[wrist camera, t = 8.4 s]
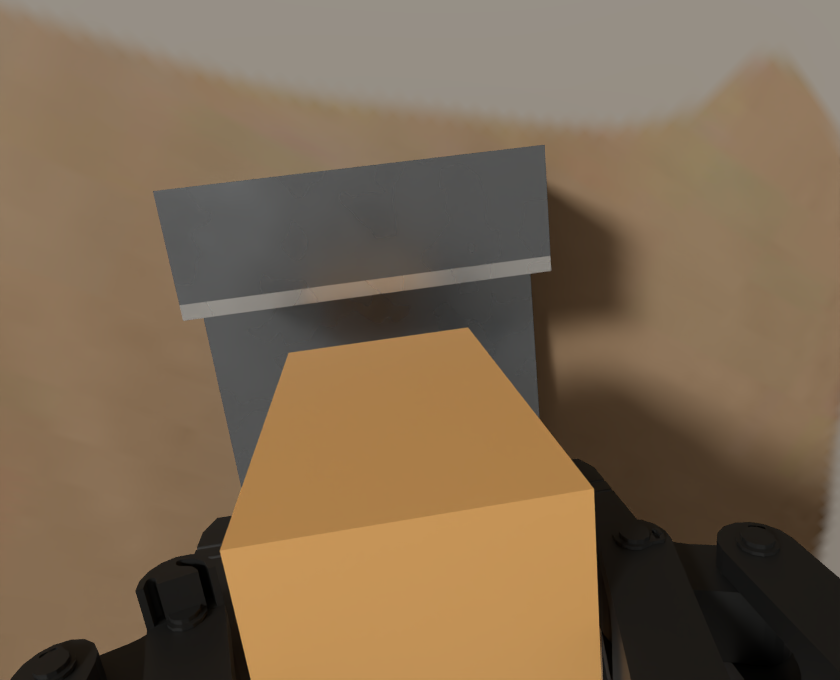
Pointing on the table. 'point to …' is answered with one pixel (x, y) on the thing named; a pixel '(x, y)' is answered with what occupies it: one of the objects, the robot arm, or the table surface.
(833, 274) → the table surface
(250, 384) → the vise base
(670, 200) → the table surface
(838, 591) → the robot arm
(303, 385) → the light orange block
